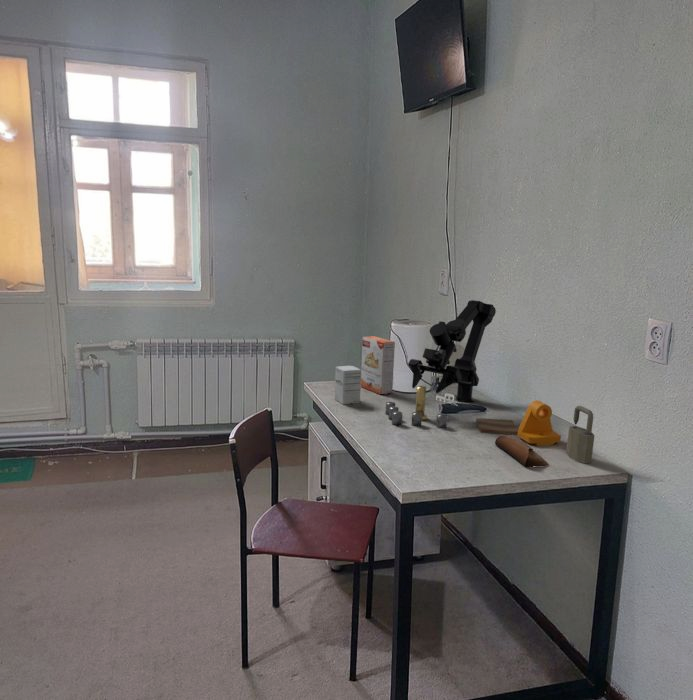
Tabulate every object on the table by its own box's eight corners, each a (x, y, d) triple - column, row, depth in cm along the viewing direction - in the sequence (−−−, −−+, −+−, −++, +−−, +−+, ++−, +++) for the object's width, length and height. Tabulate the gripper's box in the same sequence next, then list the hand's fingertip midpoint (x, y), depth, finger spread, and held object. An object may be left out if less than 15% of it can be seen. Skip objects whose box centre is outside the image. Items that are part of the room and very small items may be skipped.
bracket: (529, 446, 177) (533, 407, 175) (517, 438, 184) (520, 400, 181) (561, 444, 179) (565, 406, 177) (548, 436, 186) (552, 400, 184)
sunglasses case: (553, 466, 161) (544, 447, 159) (532, 480, 160) (522, 460, 158) (519, 443, 178) (511, 426, 176) (500, 456, 177) (491, 438, 176)
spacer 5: (436, 425, 193) (437, 413, 192) (446, 425, 193) (446, 414, 192) (436, 428, 190) (437, 416, 189) (446, 429, 190) (447, 417, 189)
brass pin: (412, 415, 202) (414, 384, 200) (426, 416, 202) (428, 385, 200) (412, 420, 198) (414, 388, 196) (427, 421, 197) (429, 389, 195)
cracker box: (359, 387, 238) (361, 336, 234) (371, 385, 242) (374, 335, 238) (380, 395, 227) (383, 342, 223) (392, 393, 230) (395, 341, 226)
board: (475, 420, 199) (476, 418, 199) (512, 423, 198) (512, 420, 198) (480, 432, 188) (481, 429, 187) (519, 434, 187) (519, 431, 186)
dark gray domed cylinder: (411, 423, 194) (412, 411, 194) (421, 423, 194) (421, 412, 193) (411, 426, 191) (412, 414, 190) (421, 426, 191) (422, 415, 190)
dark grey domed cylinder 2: (388, 417, 200) (389, 406, 199) (398, 418, 199) (398, 406, 199) (388, 420, 197) (389, 408, 196) (397, 420, 196) (398, 409, 196)
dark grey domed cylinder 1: (385, 412, 205) (386, 401, 204) (394, 413, 205) (395, 402, 204) (385, 415, 202) (386, 404, 201) (394, 415, 202) (395, 404, 201)
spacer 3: (391, 422, 194) (392, 410, 193) (401, 423, 194) (402, 411, 193) (391, 425, 191) (392, 413, 190) (401, 426, 191) (402, 414, 190)
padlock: (575, 452, 172) (581, 403, 170) (593, 463, 165) (600, 411, 162) (563, 453, 171) (569, 403, 169) (581, 464, 164) (587, 412, 161)
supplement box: (333, 399, 219) (335, 366, 217) (351, 397, 222) (353, 365, 220) (342, 404, 213) (343, 370, 210) (360, 403, 216) (362, 369, 213)
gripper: (412, 336, 206) (393, 371, 200) (460, 343, 195) (441, 381, 189) (422, 355, 214) (404, 390, 207) (469, 363, 203) (451, 400, 196)
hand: (424, 390), depth 200 cm, fingers open, 9 cm apart
